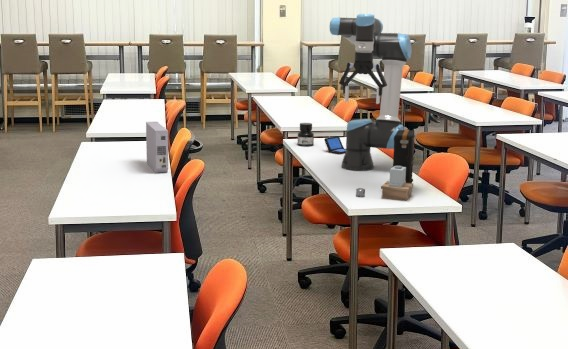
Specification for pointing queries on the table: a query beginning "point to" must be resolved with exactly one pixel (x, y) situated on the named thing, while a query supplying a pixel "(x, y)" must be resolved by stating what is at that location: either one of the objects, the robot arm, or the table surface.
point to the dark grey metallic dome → (360, 192)
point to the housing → (397, 176)
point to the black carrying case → (404, 151)
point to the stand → (396, 191)
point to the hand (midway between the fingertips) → (362, 102)
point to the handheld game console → (334, 145)
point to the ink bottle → (305, 135)
